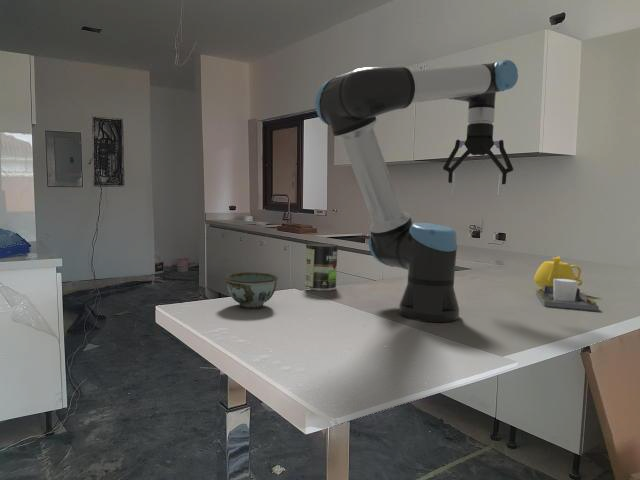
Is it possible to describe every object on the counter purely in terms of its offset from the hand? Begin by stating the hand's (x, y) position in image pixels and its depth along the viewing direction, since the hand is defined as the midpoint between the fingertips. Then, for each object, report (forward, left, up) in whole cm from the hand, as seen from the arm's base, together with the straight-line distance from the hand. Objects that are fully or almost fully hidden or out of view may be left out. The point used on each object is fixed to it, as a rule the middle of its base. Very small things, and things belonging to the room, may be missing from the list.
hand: (475, 194), depth 148 cm
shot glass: (+5, -28, -32) cm, 43 cm away
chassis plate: (+5, -28, -32) cm, 43 cm away
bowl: (-41, +55, -32) cm, 76 cm away
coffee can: (-8, +46, -32) cm, 57 cm away
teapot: (+25, -29, -32) cm, 50 cm away
